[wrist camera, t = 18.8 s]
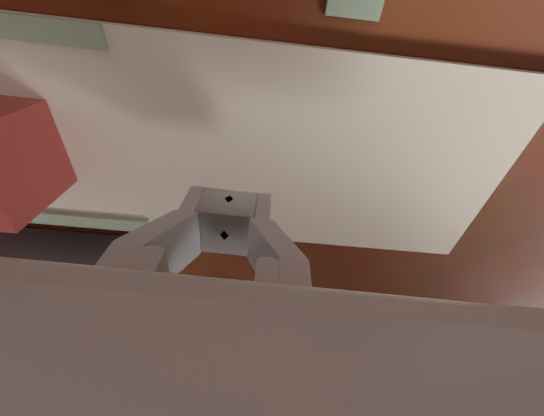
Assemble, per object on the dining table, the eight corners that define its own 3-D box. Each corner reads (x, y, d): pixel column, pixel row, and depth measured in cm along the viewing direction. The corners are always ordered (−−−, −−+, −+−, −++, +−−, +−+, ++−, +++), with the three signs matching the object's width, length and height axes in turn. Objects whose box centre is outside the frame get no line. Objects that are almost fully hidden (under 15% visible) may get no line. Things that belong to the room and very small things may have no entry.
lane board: (441, 245, 17) (450, 258, 16) (3, 207, 16) (-13, 219, 15) (622, -22, 9) (659, -25, 8) (-216, -133, 8) (-277, -150, 7)
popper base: (160, 320, 23) (147, 356, 21) (42, 312, 23) (14, 348, 20) (136, 236, 17) (113, 274, 15) (-26, 223, 17) (-77, 259, 14)
